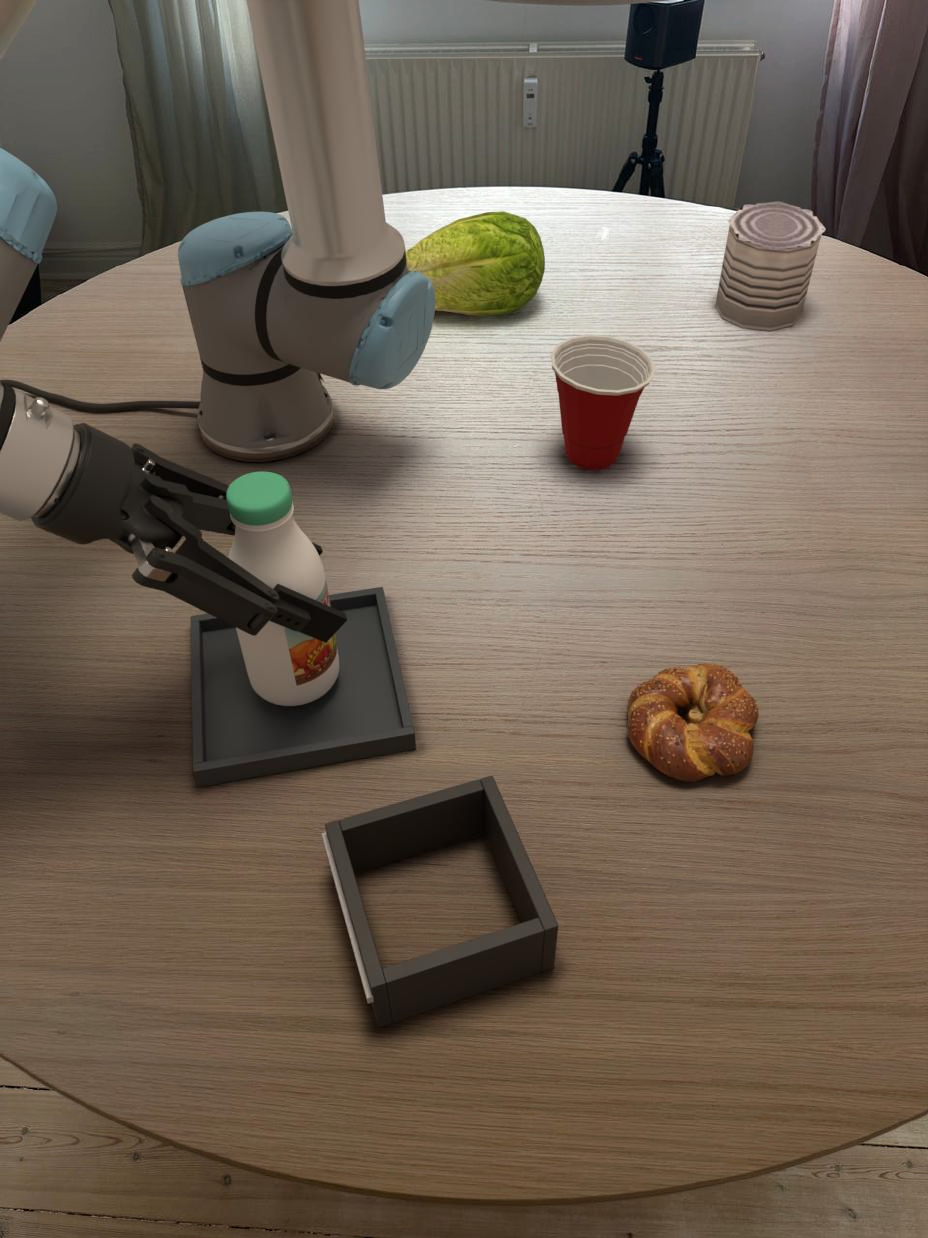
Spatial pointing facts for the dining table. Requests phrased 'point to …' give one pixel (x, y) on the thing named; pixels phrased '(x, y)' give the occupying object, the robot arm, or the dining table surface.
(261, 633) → the milk bottle
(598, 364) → the plastic cup
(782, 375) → the dining table surface
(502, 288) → the lettuce
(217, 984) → the dining table surface
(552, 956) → the collar base
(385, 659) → the tray
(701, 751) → the pretzel
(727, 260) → the can
